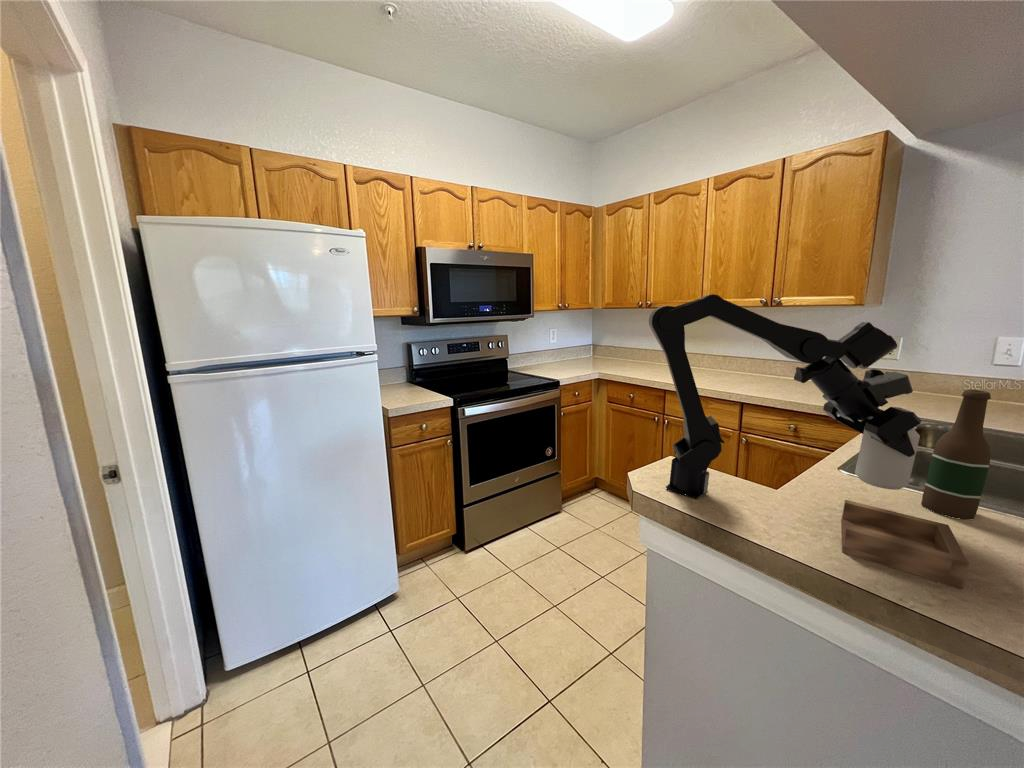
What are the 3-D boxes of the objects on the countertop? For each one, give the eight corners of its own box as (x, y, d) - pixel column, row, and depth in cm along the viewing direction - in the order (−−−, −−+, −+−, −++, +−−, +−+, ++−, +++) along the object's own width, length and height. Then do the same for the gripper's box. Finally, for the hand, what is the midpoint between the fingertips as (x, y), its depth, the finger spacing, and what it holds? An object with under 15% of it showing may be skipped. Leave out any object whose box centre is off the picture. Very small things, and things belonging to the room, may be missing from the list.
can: (914, 495, 70) (929, 430, 68) (859, 485, 74) (872, 423, 72) (899, 480, 77) (913, 420, 75) (849, 471, 80) (861, 414, 78)
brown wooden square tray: (842, 552, 63) (846, 529, 63) (841, 519, 73) (845, 499, 73) (961, 588, 55) (968, 563, 55) (942, 547, 65) (948, 524, 65)
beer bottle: (928, 514, 76) (958, 392, 72) (912, 497, 83) (938, 385, 78) (986, 525, 73) (1022, 397, 68) (964, 507, 80) (995, 389, 75)
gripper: (920, 363, 63) (988, 437, 62) (851, 351, 81) (904, 409, 80) (852, 406, 66) (916, 477, 66) (801, 386, 84) (851, 441, 84)
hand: (896, 447), depth 74 cm, fingers closed on can, 7 cm apart
